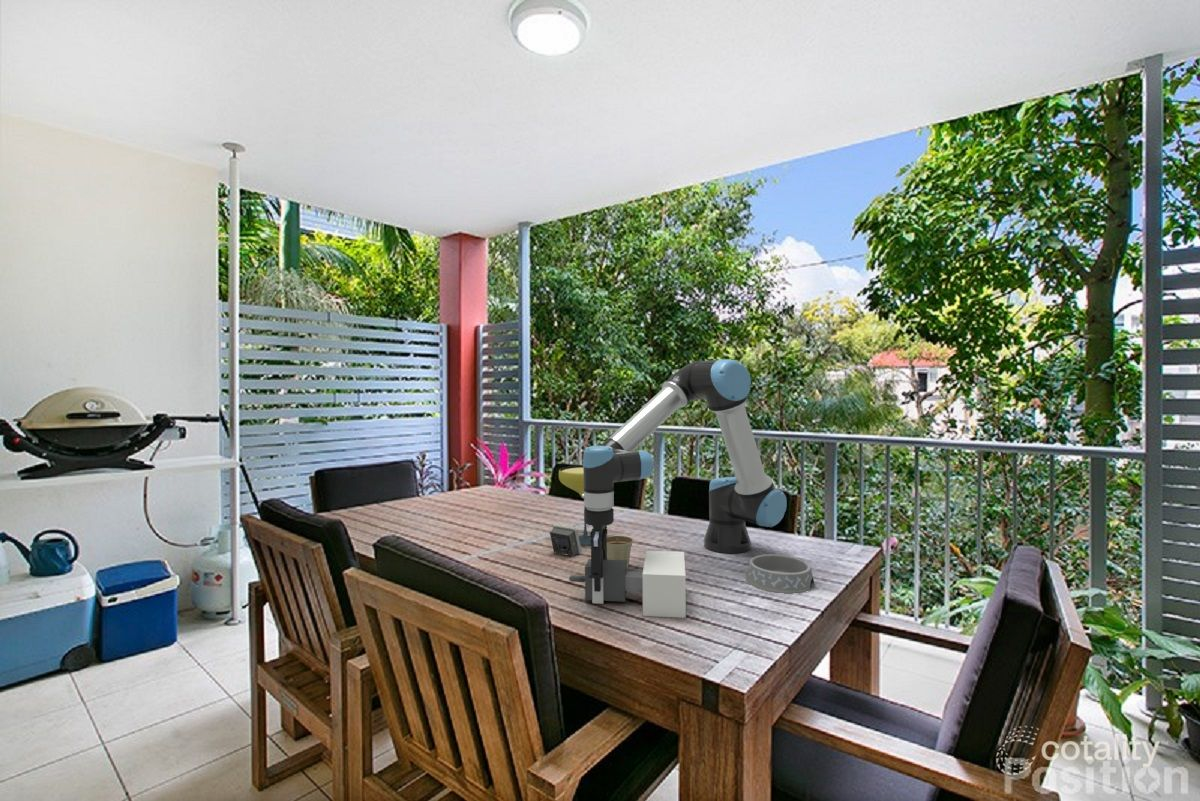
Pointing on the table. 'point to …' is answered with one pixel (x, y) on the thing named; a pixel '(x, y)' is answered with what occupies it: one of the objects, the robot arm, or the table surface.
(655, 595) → the white rectangular block
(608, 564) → the plug
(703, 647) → the table surface
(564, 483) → the cocktail glass
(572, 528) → the electrical switch
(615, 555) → the flower pot
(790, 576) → the dog bowl
